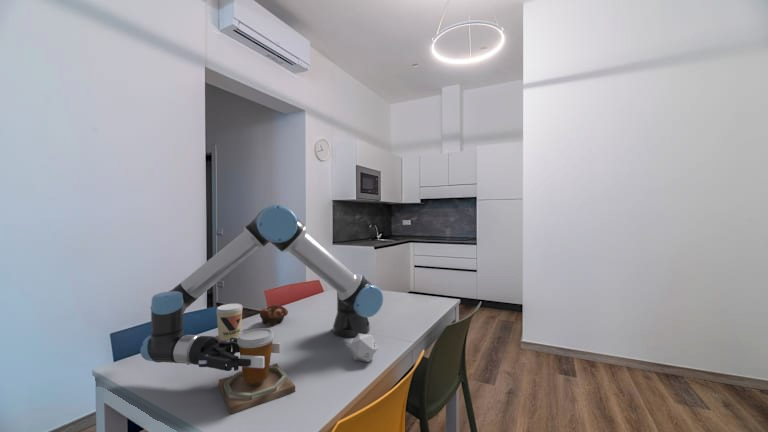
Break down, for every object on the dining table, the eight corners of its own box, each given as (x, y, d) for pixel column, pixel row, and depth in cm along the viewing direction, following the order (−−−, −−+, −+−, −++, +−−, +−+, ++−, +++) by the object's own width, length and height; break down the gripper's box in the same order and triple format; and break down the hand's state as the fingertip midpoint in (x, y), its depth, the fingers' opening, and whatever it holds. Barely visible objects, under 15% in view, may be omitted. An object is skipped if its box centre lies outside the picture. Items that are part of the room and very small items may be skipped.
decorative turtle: (252, 327, 131) (252, 308, 132) (277, 319, 145) (277, 302, 146) (270, 329, 128) (270, 309, 128) (293, 320, 141) (293, 303, 142)
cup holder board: (276, 368, 95) (276, 360, 95) (295, 391, 82) (295, 382, 82) (218, 385, 86) (218, 376, 86) (229, 414, 73) (229, 403, 73)
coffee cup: (219, 343, 114) (219, 311, 114) (213, 336, 121) (213, 306, 121) (245, 337, 120) (245, 306, 120) (238, 330, 127) (238, 302, 127)
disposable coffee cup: (261, 388, 78) (261, 341, 78) (228, 384, 80) (228, 339, 80) (281, 370, 88) (281, 328, 88) (251, 367, 89) (251, 326, 90)
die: (359, 370, 95) (377, 343, 96) (340, 351, 99) (358, 326, 100) (368, 368, 102) (385, 343, 103) (350, 350, 106) (367, 327, 107)
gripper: (222, 347, 97) (289, 352, 94) (166, 382, 76) (250, 389, 73) (222, 324, 97) (289, 327, 94) (166, 352, 76) (250, 358, 73)
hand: (272, 354), depth 83 cm, fingers closed on disposable coffee cup, 8 cm apart
